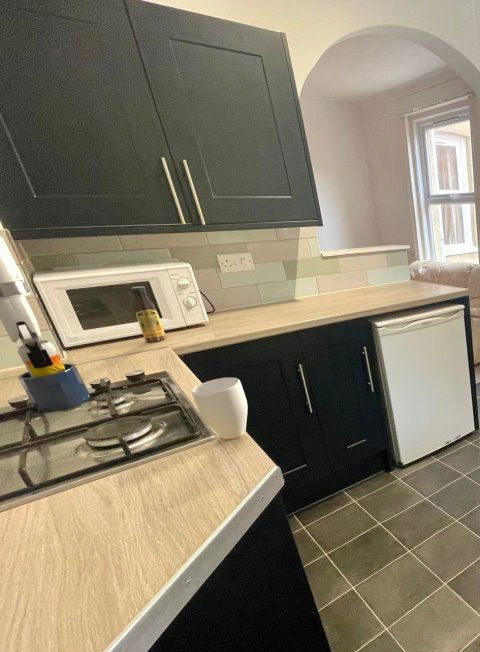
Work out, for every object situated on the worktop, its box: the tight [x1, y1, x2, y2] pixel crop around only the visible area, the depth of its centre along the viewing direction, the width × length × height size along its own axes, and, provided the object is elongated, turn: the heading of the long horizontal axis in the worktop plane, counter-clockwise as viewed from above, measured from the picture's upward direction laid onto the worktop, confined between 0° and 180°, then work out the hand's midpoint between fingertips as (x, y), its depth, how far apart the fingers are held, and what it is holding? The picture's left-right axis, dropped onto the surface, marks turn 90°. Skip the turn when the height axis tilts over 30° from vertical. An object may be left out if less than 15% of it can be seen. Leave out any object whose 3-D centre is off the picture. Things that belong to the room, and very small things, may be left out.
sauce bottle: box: [130, 286, 166, 343], centre depth 154 cm, size 6×6×20 cm
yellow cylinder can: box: [17, 340, 66, 378], centre depth 104 cm, size 6×6×15 cm
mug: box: [191, 377, 249, 440], centre depth 87 cm, size 12×8×11 cm
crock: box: [17, 363, 92, 413], centre depth 106 cm, size 10×10×9 cm
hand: (43, 363), depth 103 cm, fingers closed on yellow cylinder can, 6 cm apart
